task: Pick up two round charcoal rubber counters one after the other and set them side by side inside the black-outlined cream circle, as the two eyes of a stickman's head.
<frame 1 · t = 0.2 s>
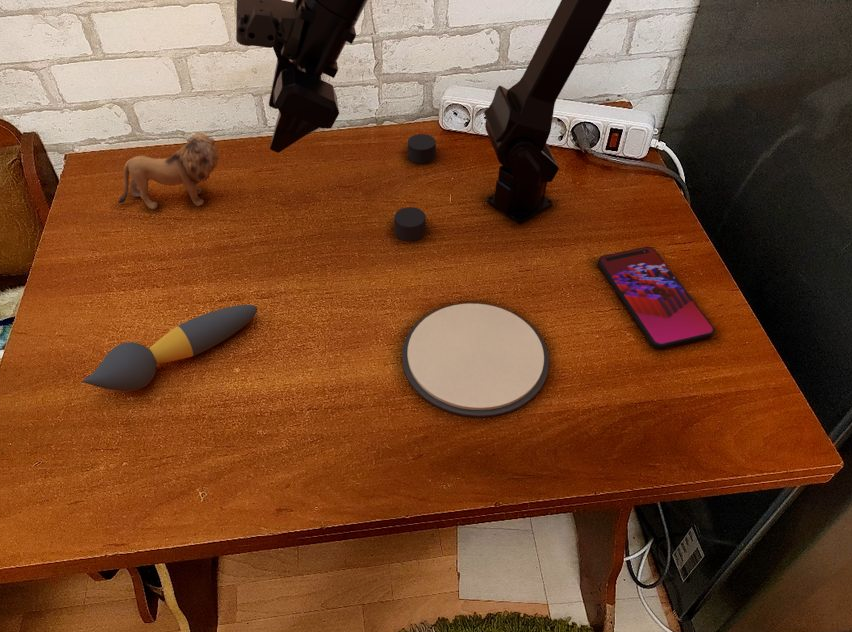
hand: (273, 127, 79), 15 cm above the table, tool tilted 30°, fingers open, 9 cm apart
counter a: (421, 156, 100), on the table
lion figurine: (178, 198, 94), on the table
smartphone: (651, 298, 81), on the table
paintbrush: (179, 356, 76), on the table
face circle: (474, 357, 75), on the table
counter b: (410, 231, 89), on the table
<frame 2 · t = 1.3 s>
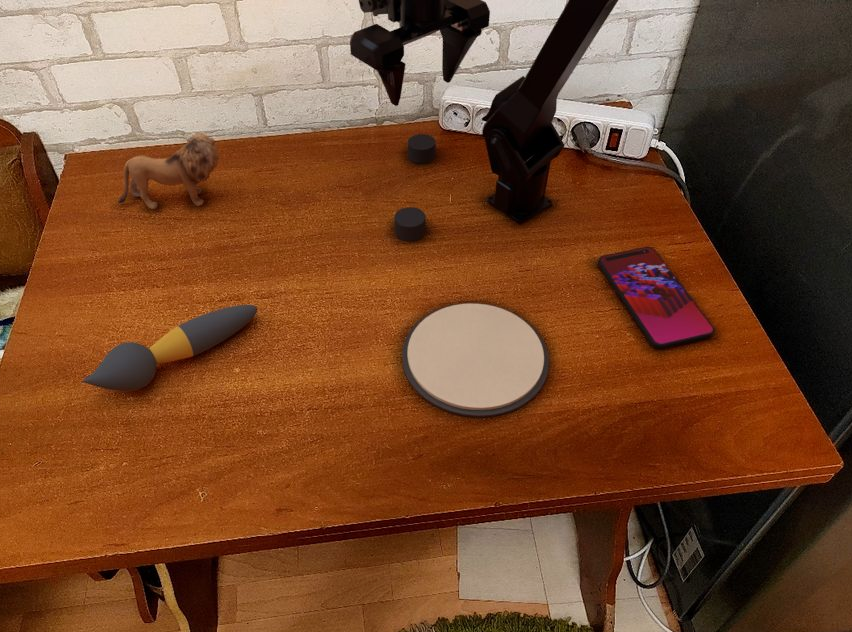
hand: (421, 92, 92), 10 cm above the table, tool pointing down, fingers open, 9 cm apart
nothing on the table moved.
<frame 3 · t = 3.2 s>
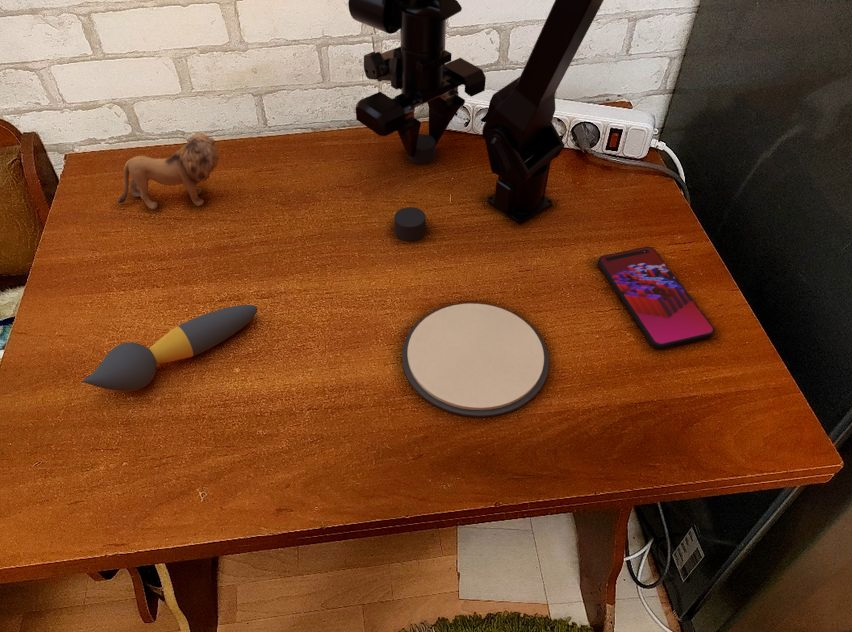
hand: (421, 149, 99), 1 cm above the table, tool pointing down, fingers closed on counter a, 4 cm apart
counter a: (421, 156, 100), on the table, touching gripper
everything else where it was.
when the fingers open (2 cm above the table, at t = 9.2 s): counter a stays where it is, resting on face circle.
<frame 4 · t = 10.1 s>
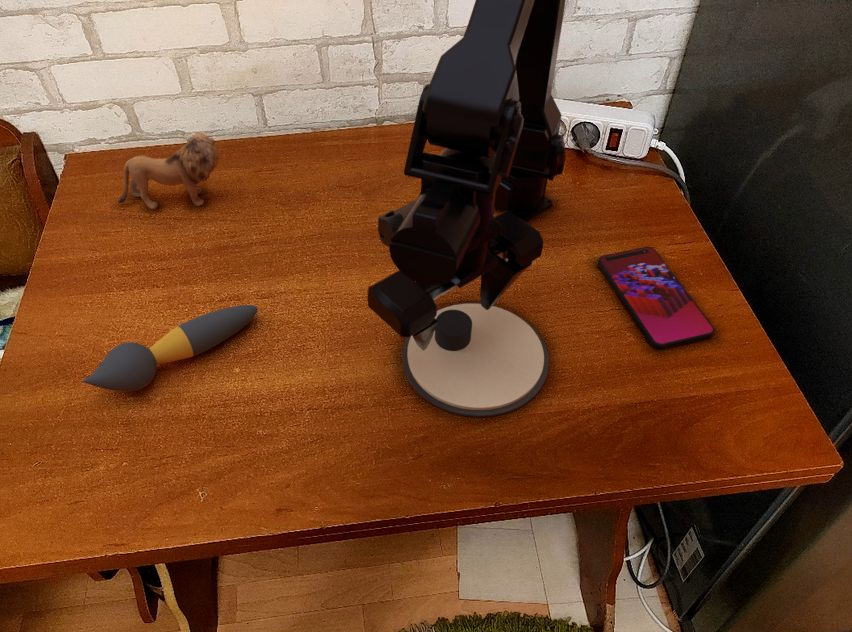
hand: (454, 326, 74), 3 cm above the table, tool pointing down, fingers open, 9 cm apart
counter a: (452, 337, 76), point 1 cm above the table, touching face circle
everything else where it was.
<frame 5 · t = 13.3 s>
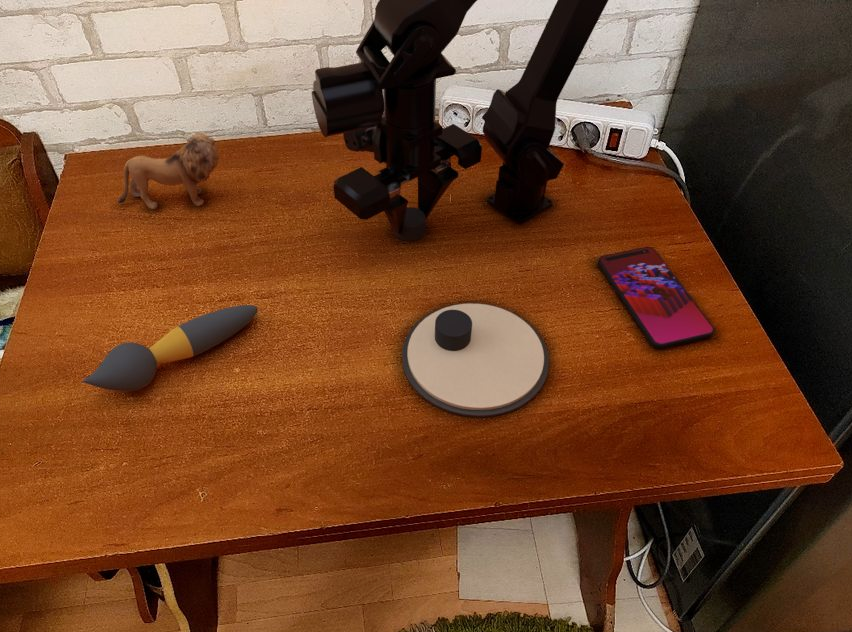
hand: (410, 225, 88), 1 cm above the table, tool pointing down, fingers closed on counter b, 4 cm apart
counter b: (410, 231, 89), on the table, touching gripper
everything else where it was.
when the fingers open (2 cm above the table, at t = 18.4 s): counter b stays where it is, resting on face circle.
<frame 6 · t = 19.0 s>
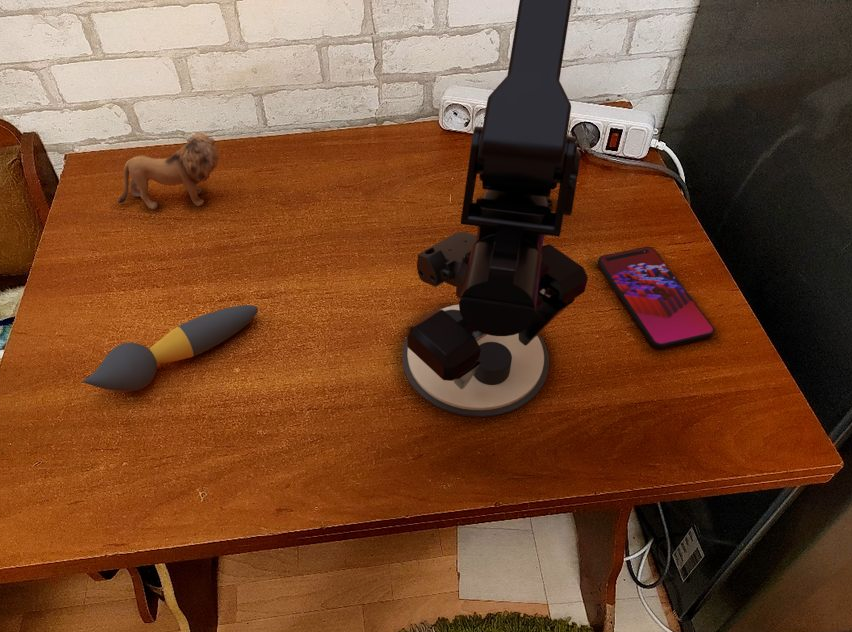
hand: (492, 363, 72), 2 cm above the table, tool pointing down, fingers open, 9 cm apart
counter b: (490, 370, 73), point 1 cm above the table, touching face circle
everything else where it was.
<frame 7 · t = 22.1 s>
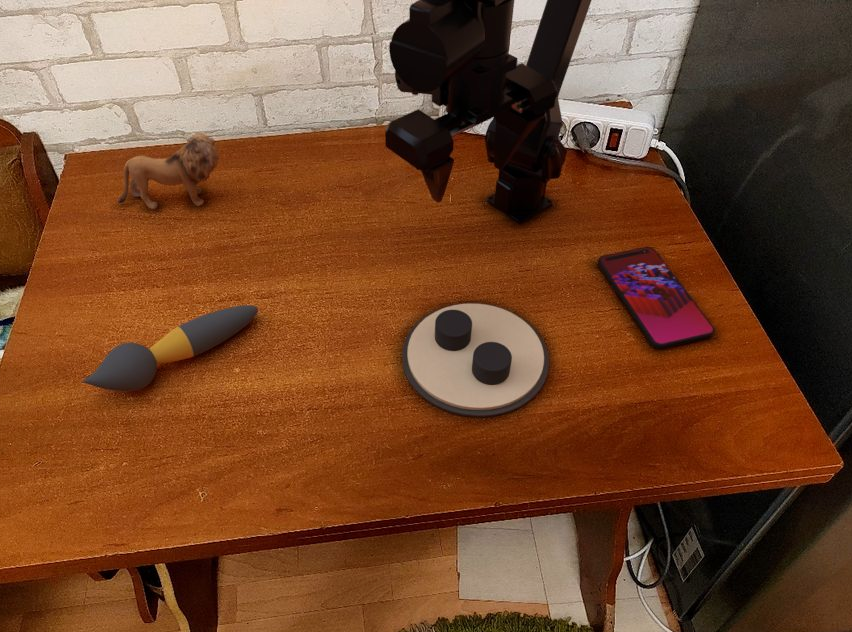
hand: (468, 183, 76), 12 cm above the table, tool pointing down, fingers open, 9 cm apart
nothing on the table moved.
at the end: counter a 0.0 cm from the target spot on the face circle, point 0.9 cm above the face circle's base; counter b 0.4 cm from the target spot on the face circle, point 0.9 cm above the face circle's base; the gripper is holding nothing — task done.
